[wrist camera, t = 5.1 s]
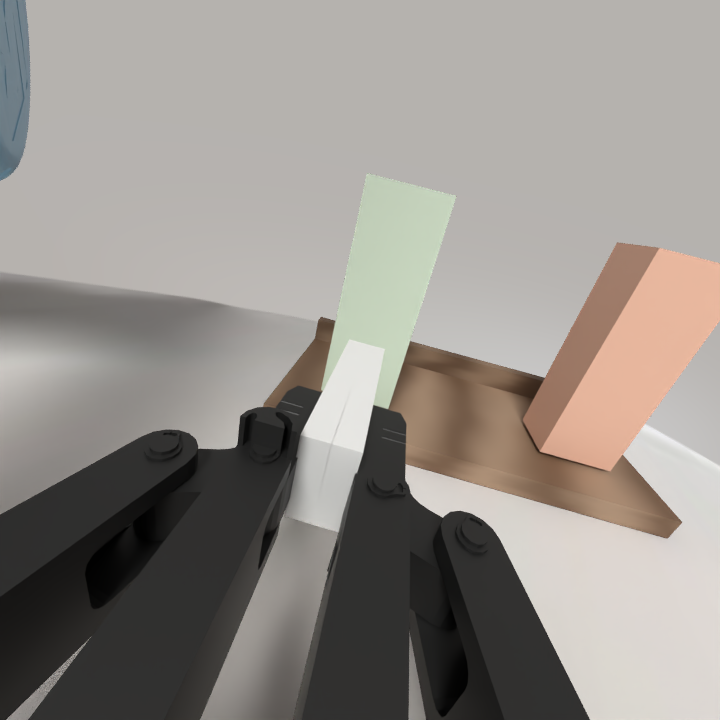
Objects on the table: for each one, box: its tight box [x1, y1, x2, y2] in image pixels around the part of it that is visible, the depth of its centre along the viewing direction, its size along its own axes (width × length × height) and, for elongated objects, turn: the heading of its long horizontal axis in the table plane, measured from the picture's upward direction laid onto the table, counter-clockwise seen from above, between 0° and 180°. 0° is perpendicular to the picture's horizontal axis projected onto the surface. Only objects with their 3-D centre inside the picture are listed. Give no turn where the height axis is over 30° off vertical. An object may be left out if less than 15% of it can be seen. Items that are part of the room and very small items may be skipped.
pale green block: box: [321, 173, 456, 409], centre depth 23 cm, size 5×4×14 cm
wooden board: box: [263, 317, 682, 538], centre depth 28 cm, size 27×15×4 cm, turn 82°
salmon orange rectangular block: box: [523, 243, 720, 471], centre depth 22 cm, size 5×4×14 cm
